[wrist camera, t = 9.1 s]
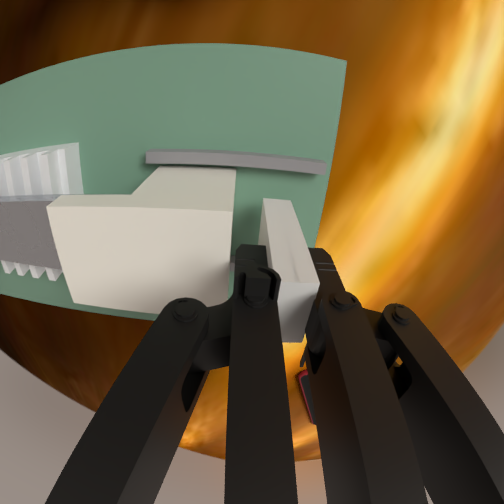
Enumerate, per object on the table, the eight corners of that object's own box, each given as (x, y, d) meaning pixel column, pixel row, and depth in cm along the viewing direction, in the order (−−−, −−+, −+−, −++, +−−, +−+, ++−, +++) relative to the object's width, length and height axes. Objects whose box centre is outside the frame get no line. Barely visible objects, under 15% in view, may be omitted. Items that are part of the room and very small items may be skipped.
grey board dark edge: (-30, 246, 13) (-39, 254, 12) (-44, 198, 11) (-54, 206, 10) (150, 268, 14) (142, 282, 13) (142, 193, 12) (132, 203, 11)
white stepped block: (102, 166, 13) (46, 206, 9) (236, 168, 14) (232, 211, 9) (112, 244, 16) (74, 302, 11) (230, 251, 17) (226, 319, 12)
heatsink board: (-37, 105, 10) (-88, 125, 5) (340, 62, 12) (394, 51, 7) (3, 286, 19) (-27, 327, 14) (291, 319, 21) (303, 385, 16)
